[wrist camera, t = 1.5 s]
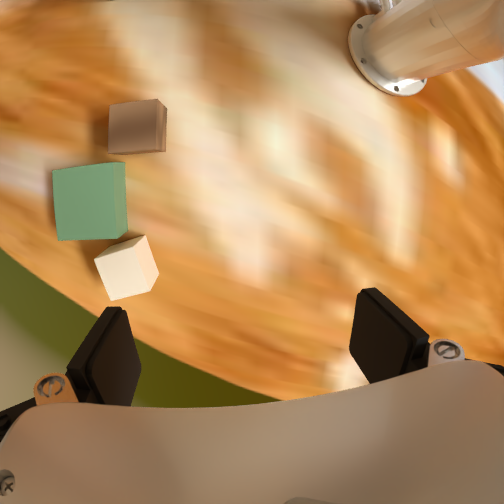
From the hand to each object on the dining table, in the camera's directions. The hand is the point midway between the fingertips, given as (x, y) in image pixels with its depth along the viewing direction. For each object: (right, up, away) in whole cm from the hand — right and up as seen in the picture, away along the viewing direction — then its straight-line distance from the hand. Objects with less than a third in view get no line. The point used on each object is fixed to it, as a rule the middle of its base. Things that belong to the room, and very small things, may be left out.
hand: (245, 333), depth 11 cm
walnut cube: (-12, +17, +17) cm, 27 cm away
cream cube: (-14, +2, +21) cm, 26 cm away
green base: (-18, +10, +19) cm, 28 cm away
